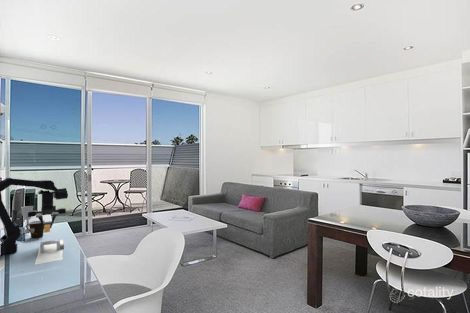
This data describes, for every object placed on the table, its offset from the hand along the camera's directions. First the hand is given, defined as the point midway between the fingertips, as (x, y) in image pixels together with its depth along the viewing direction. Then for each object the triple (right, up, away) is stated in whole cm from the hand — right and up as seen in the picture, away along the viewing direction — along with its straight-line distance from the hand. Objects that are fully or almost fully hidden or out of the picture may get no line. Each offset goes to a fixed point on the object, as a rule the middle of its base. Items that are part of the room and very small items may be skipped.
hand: (47, 226), depth 161 cm
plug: (+2, -1, -3) cm, 4 cm away
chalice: (-33, -11, +27) cm, 44 cm away
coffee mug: (-19, -12, +16) cm, 28 cm away
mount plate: (+10, -11, -11) cm, 19 cm away
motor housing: (+9, -11, -11) cm, 18 cm away
